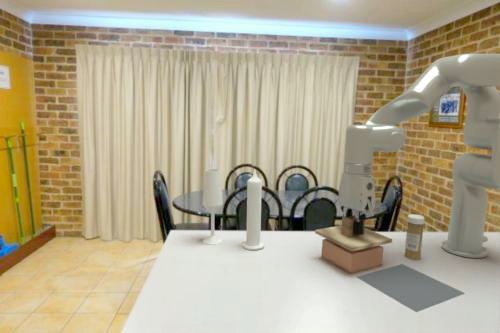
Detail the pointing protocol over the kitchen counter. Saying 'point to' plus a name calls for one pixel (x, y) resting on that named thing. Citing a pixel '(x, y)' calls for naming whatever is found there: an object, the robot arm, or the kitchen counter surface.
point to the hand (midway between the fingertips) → (352, 231)
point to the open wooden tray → (352, 256)
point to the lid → (352, 236)
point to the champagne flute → (212, 200)
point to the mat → (410, 287)
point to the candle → (253, 214)
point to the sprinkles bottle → (414, 237)
